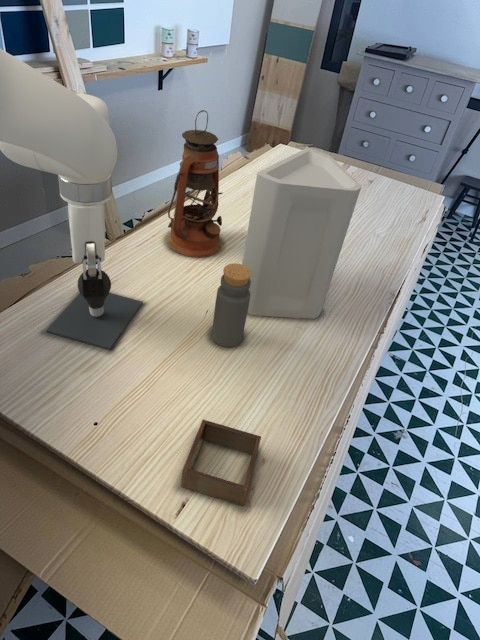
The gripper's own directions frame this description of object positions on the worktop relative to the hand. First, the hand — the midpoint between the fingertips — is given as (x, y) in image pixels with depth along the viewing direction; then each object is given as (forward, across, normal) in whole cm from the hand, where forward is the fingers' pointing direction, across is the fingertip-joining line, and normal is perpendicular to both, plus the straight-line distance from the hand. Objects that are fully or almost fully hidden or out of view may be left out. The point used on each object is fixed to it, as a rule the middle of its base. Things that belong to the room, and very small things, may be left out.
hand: (92, 279), depth 80 cm
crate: (+9, +34, +15) cm, 39 cm away
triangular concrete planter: (+9, -2, +39) cm, 40 cm away
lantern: (+9, -25, +24) cm, 36 cm away
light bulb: (+9, 0, 0) cm, 9 cm away
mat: (+9, 0, 0) cm, 9 cm away
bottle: (+9, +8, +23) cm, 26 cm away
